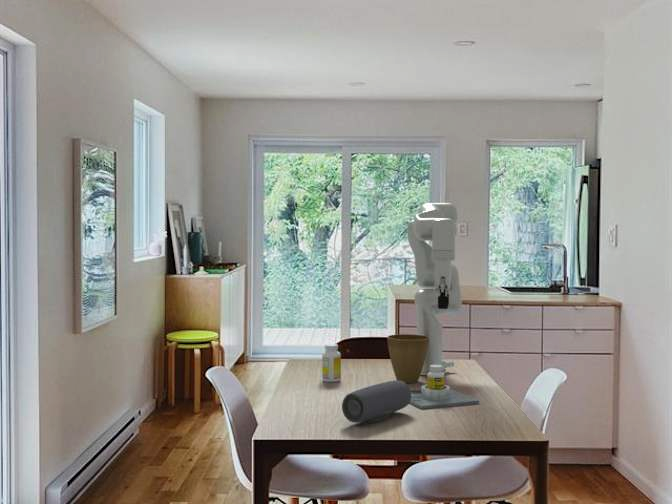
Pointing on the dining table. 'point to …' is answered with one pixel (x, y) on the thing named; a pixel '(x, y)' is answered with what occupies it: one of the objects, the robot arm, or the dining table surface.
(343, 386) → the dining table surface
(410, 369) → the plant pot
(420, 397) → the duct collar
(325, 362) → the supplement bottle
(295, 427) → the dining table surface
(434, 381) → the supplement bottle
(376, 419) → the bluetooth speaker
